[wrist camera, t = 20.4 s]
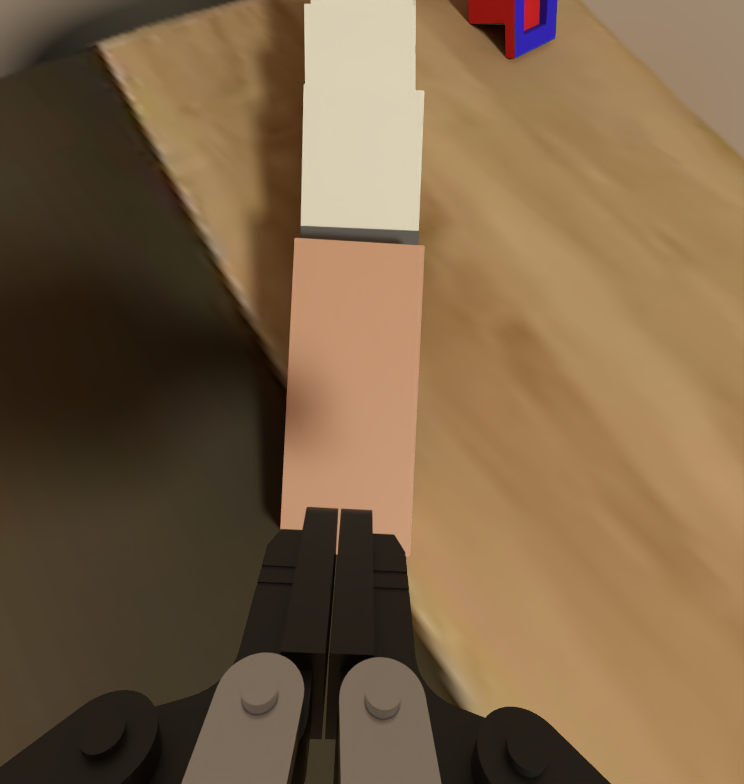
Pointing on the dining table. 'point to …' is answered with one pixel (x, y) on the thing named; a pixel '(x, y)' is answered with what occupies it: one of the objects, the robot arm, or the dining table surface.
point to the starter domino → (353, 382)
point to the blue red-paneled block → (517, 21)
